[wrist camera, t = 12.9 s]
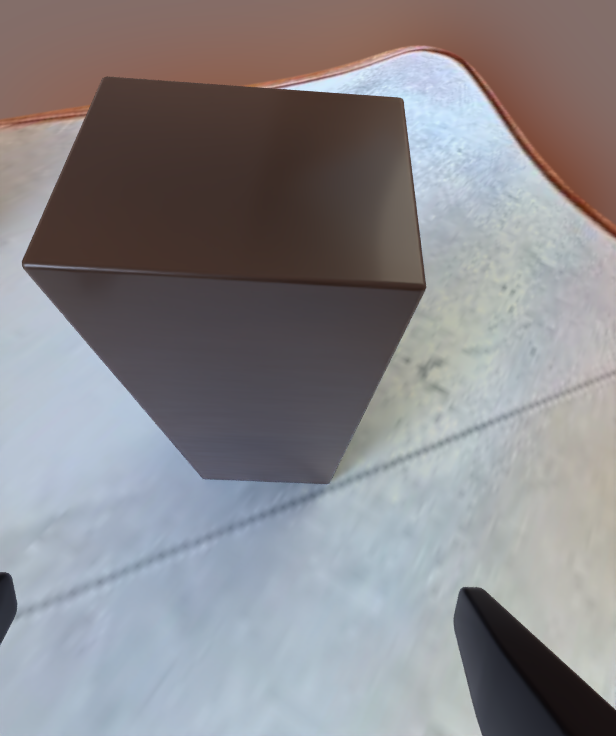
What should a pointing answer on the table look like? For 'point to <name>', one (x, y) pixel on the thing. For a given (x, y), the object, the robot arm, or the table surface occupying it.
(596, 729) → the robot arm
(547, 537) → the table surface
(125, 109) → the walnut block
